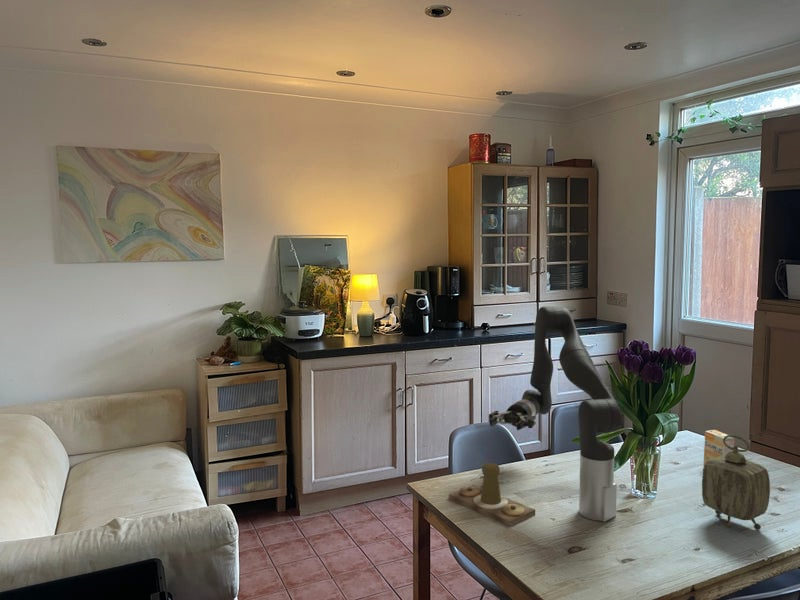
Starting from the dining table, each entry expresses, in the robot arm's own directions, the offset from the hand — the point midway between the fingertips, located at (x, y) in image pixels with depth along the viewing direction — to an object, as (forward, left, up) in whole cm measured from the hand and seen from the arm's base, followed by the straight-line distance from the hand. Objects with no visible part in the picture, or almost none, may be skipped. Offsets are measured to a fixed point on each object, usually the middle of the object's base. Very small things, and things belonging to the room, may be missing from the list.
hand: (504, 425), depth 183 cm
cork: (-4, +10, -20) cm, 23 cm away
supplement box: (-36, -69, -22) cm, 80 cm away
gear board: (-4, +10, -22) cm, 24 cm away
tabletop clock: (-55, -31, -22) cm, 66 cm away
